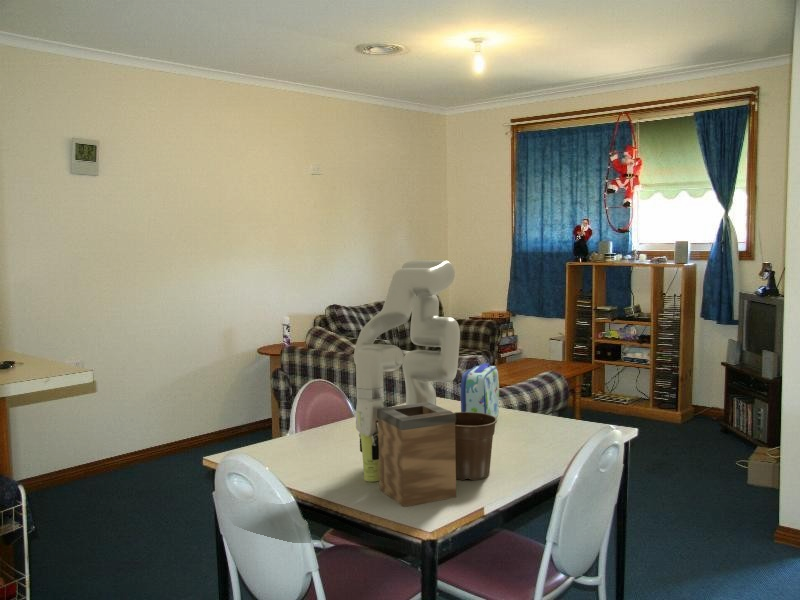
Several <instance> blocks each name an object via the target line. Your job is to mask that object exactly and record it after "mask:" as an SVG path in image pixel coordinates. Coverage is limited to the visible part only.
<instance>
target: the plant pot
mask: <svg viewBox="0 0 800 600" xmlns="http://www.w3.org/2000/svg"><path fill="white" fill-rule="evenodd" d="M454 413H456V423H455V453H456V480H462V481H465V480H467V479H468V480H470V481H476V480H483V479H486V478H488V477H489V476H490V471H491V462H492V461H491V459H492V449H493V439H494V435H495V432H496V431H495V428H496V424H497V422H498V417H497V418H496V417H494V416H492V415H489V414H485V413H478V412H461V411H459V412H457V411H456V412H454Z"/></svg>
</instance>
